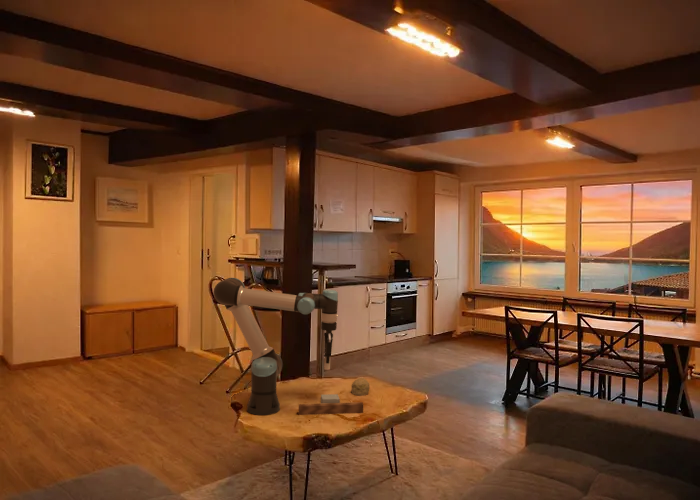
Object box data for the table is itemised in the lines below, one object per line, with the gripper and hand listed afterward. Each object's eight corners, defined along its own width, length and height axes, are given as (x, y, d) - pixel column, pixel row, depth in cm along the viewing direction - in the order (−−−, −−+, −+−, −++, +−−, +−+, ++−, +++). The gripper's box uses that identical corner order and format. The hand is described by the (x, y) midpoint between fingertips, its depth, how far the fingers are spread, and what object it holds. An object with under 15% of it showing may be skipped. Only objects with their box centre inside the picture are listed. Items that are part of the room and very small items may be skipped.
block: (322, 412, 250) (322, 399, 249) (320, 406, 256) (321, 394, 256) (339, 411, 251) (339, 398, 251) (337, 406, 258) (337, 394, 258)
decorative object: (356, 403, 273) (367, 389, 270) (344, 389, 278) (354, 375, 275) (366, 400, 281) (376, 386, 278) (354, 386, 286) (363, 372, 283)
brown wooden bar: (298, 414, 245) (299, 405, 244) (298, 412, 248) (298, 403, 247) (363, 412, 250) (363, 403, 249) (361, 410, 253) (362, 401, 252)
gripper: (338, 324, 255) (336, 373, 256) (334, 319, 268) (332, 365, 269) (322, 324, 254) (320, 373, 255) (320, 319, 267) (318, 365, 268)
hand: (326, 369), depth 262 cm, fingers closed
